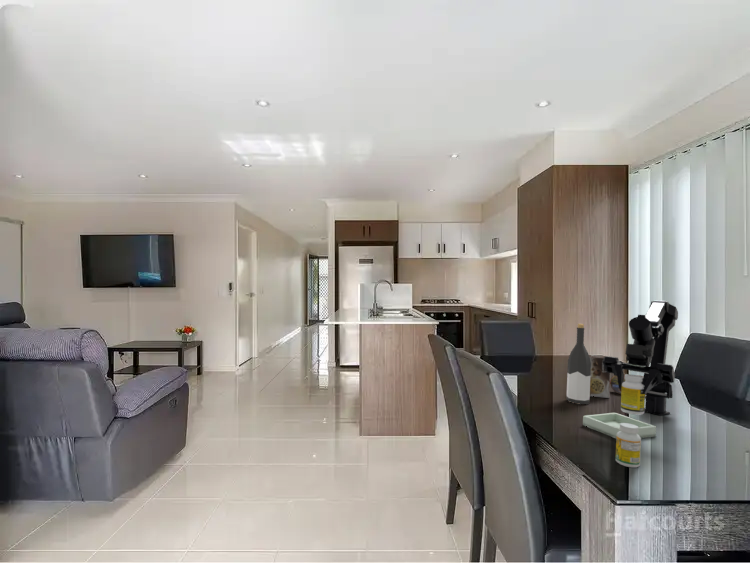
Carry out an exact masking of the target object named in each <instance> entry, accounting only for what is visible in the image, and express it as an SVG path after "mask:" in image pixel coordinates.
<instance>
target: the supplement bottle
mask: <svg viewBox="0 0 750 563" xmlns="http://www.w3.org/2000/svg"><path fill="white" fill-rule="evenodd" d="M620 430H621V431H619V432H618V433H617V436H616V438H615V441H616V443H615V462H616V463H618V464H619V465H621V466H624V467H628V468H638V467H640V465H641V448H642V447H641V446H642V438H641V437H640V436H639V435H638V434H637V433H638V426H636V425H633V424H629V423H620Z"/></svg>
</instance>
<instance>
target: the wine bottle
mask: <svg viewBox="0 0 750 563" xmlns="http://www.w3.org/2000/svg"><path fill="white" fill-rule="evenodd" d="M584 326H585V325H584V323H577V327H576V343H575V345H574V347H573V348H572V350H571V351H570V354H569V356H568V359H567V376H566V377H567V379H566V401H567V400H568V401H571V402H574V403H580V404H579V405H581V404H586V405H589V404H590V397H591V396H590V375H591V361H590V357H589V355H590V354H589V352H588V350H587V348H586V347H585V346H586V345H585V344H584V342H585V341H584V340H585V338H584V337H585V327H584ZM568 401H567V402H568ZM574 403H573V404H574ZM588 403H589V404H588Z"/></svg>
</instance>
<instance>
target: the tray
mask: <svg viewBox="0 0 750 563" xmlns="http://www.w3.org/2000/svg"><path fill="white" fill-rule="evenodd" d="M620 423H629V424H633V425H636V426H638V433H637V434H638V435H639V436H640V437H641V439H646V438H653V437H654V438H655V437H657V426H656V425H653V424H651V423H647V422H645V421H641V420H638V419H635V418H632V417H629V416H627V415H623V414H620V413H617V412H608V413H599V414H586V415H583V416H582V426H584V427H586V426H587V428H589V429H591V430H594V431H597V432H599V433H601V434H604V435H606V436H609V437H612V438H613V439H616V436H617V433H618V432H619V431H621V430H620Z"/></svg>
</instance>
